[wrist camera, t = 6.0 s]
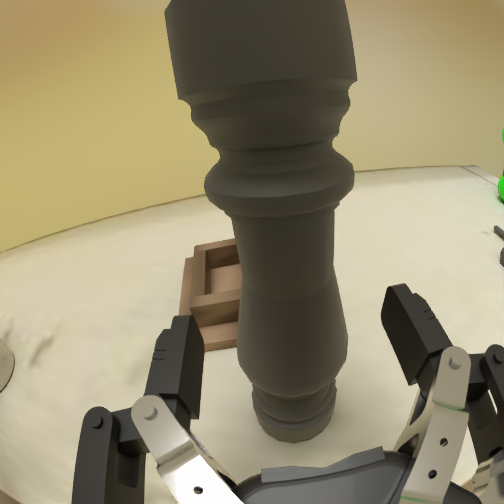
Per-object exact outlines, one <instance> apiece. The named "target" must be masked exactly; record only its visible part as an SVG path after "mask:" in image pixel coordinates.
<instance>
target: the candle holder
mask: <svg viewBox="0 0 504 504" xmlns="http://www.w3.org/2000/svg"><path fill="white" fill-rule="evenodd" d="M165 20H166V28H167V34H168V40H169V47H170V53H171V59H172V65H173V71H174V76H175V83H176V87H177V94H178V99H180V100H183V101H185V102H187V103H188V104H189V105H190V107H191V119H192V121H193V122H194V124H195V125H196V126H197V127H199V128H200V129H201V130H202V131H203V132H204V133H205V134H206V136H207V138H208V140H209V143H210V145H211V146H212V147H214V148H216V149H217V150H218V151H219V153H220V160H219V161H218V163H216V164H215V165H214V166H213V167H212V169H211V170H210V171H209V172H208V174H207V175H206V177H205V182H204V189H205V193H206V196H207V198H208V199H209V201H210V202H212V203H213V204H214V205H216V206H217V207H218V208H220V209H221V210H224V212H225V214H226V215H228V216H229V217H230V218H231V220H232V225H233V230H234V235H235V240H236V245H237V250H238V255H239V260H240V265H241V270H242V280H241V293H240V306H239V319H238V330H237V342H236V343H237V354H238V361H239V364H240V367H241V368H242V370H243V371H244V373H245V374H246V375H247V377H248V378H249V380H250V381H251V382H252V383H253V384H252V385H253V392H252V399H253V406H254V410H255V413H256V415H257V418H258V421H259V423H260V424H261V426H262V427H263V429H264V430H265V432H266V433H267V434H269V435H270V436H272V437H274V438H276V439H277V440H279V441H286V442H292V443H296V442H300V441H305V440H309V439H311V438H313V437H314V436H316V435H317V434H319V433H320V432H322V431H323V429H324V428H325V427H326V425H327V424H328V422H329V421H330V419H331V415H332V412H333V409H334V405H335V399H336V392H337V389H336V386H335V382H336V380H335V377H336V376H337V374H338V372H339V371H340V369H341V367H342V366H343V364H344V362H345V361H346V356H347V345H348V334H347V329H346V324H345V319H344V314H343V308H342V303H341V298H340V294H339V289H338V284H337V279H336V275H335V270H334V266H333V258H334V209H335V208H336V207H337V206H338V205H339V202H340V200H342V199H343V198H344V197H345V196H346V195H347V194H348V193H349V192H350V191H351V190H352V188H353V185H354V170H353V165H352V164H351V163H350V162H349V161H348V160H347V159H346V158H345V157H344V156H342V155H341V154H339V153H338V152H336V151H335V150H334V149H333V148H332V140H333V139H334V138H335V137H336V136H337V135H338V133H339V126H340V122H341V120H342V118H343V116H344V115H345V114H346V112H347V111H348V109H349V107H350V99H349V96H348V89H349V87H350V86H351V85H352V84H353V83H354V82H356V81H357V73H356V64H355V56H354V49H353V42H352V36H351V30H350V25H349V20H348V14H347V9H346V4H345V1H344V0H171V2H170V4H169V5H168V7H167V8H166V10H165Z"/></svg>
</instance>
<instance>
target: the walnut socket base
mask: <svg viewBox="0 0 504 504" xmlns="http://www.w3.org/2000/svg"><path fill="white" fill-rule="evenodd" d="M241 280H242V270H241V265H240V260H239V255H238V250H237V245H236V240H235V238H234V239H229V240H223V241H218V242H213V243H208V244H203V245H197V246H195V247H194V257H191V258H186V259H185V266H184V274H183V282H182V290H181V299H180V308H179V315H190V314H192V315H193V316H194V318H195V320H196V323H197V325H198V327H199V330H200V332H201V334H202V337H203V340H204V347H205V351H210V350H217V349H224V348H230V347H236V346H237V343H236V342H237V330H238V319H239V306H240V293H241Z"/></svg>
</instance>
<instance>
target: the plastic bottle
mask: <svg viewBox="0 0 504 504" xmlns="http://www.w3.org/2000/svg"><path fill="white" fill-rule="evenodd" d="M503 142H504V129H503ZM498 191H499V194H500V196H501V198H502V199H503V202H504V172H503V176H502V177H501V178H500V180H499V182H498Z"/></svg>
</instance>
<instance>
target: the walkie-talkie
mask: <svg viewBox="0 0 504 504" xmlns="http://www.w3.org/2000/svg"><path fill="white" fill-rule="evenodd" d="M494 230H495V231H496V232H497V233H499V234H500V235H501V236H502V237H503V238H504V231H503V230H502V229H500V228H499V227H498V226H494ZM500 255H501V259H500V264H501V265H502V266H503V267H504V247H503V249H502V251H501V254H500Z"/></svg>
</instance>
